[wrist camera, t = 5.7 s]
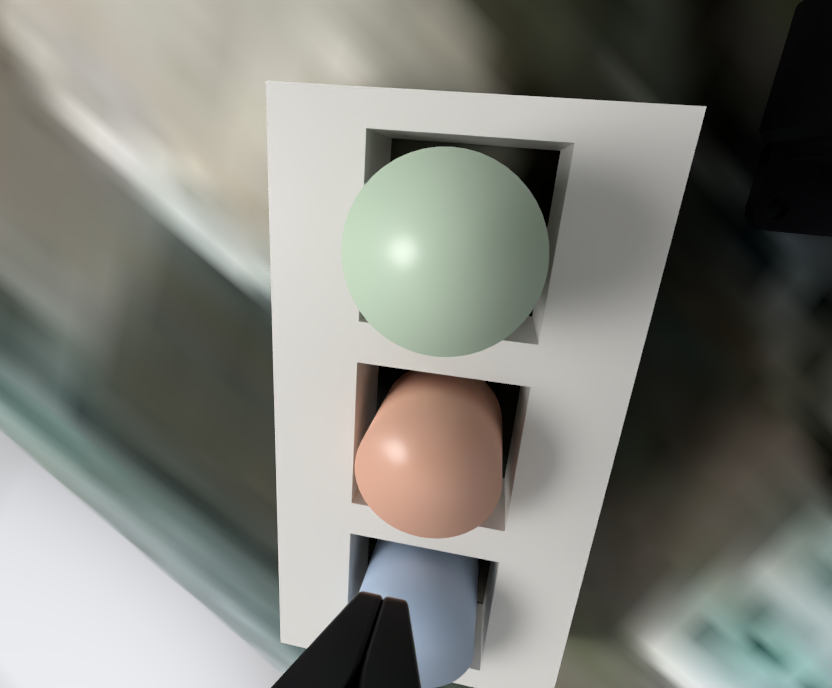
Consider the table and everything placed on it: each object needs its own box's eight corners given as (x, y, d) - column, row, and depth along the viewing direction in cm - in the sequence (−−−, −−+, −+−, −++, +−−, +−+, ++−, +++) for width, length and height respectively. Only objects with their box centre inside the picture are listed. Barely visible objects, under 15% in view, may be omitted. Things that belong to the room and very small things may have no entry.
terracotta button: (510, 372, 13) (513, 423, 10) (493, 479, 14) (491, 550, 12) (387, 355, 14) (357, 399, 11) (380, 459, 15) (352, 523, 12)
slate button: (485, 528, 15) (481, 607, 12) (472, 611, 16) (466, 700, 13) (377, 508, 16) (350, 580, 13) (372, 590, 17) (346, 671, 14)
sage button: (550, 163, 10) (568, 155, 7) (523, 323, 11) (530, 369, 8) (386, 150, 10) (344, 138, 8) (378, 304, 12) (339, 343, 9)
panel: (664, 122, 11) (706, 106, 9) (543, 633, 17) (549, 705, 15) (309, 99, 12) (265, 80, 10) (308, 583, 18) (280, 642, 16)
